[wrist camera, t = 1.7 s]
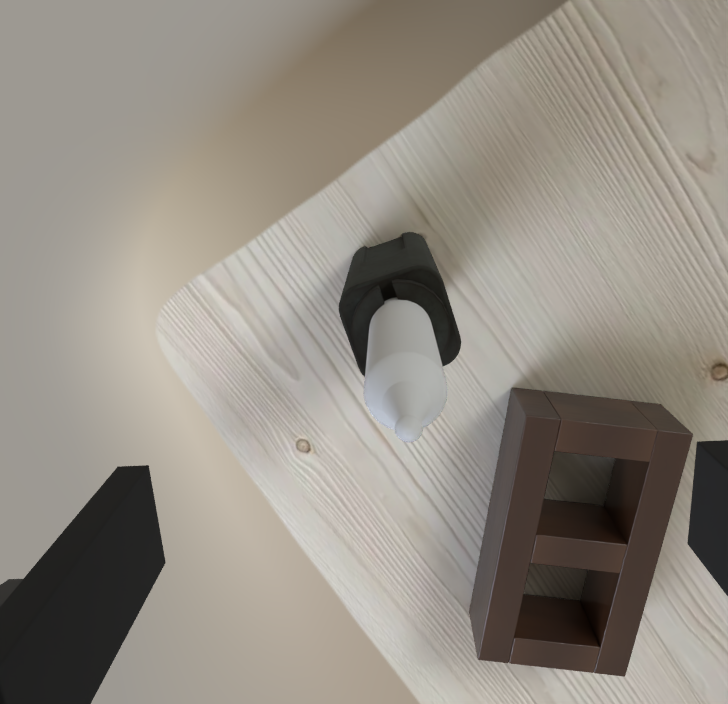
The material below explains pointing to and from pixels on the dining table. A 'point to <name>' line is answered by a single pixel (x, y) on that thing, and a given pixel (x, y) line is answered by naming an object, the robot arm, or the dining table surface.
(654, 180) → the dining table surface
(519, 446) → the rack
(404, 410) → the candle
